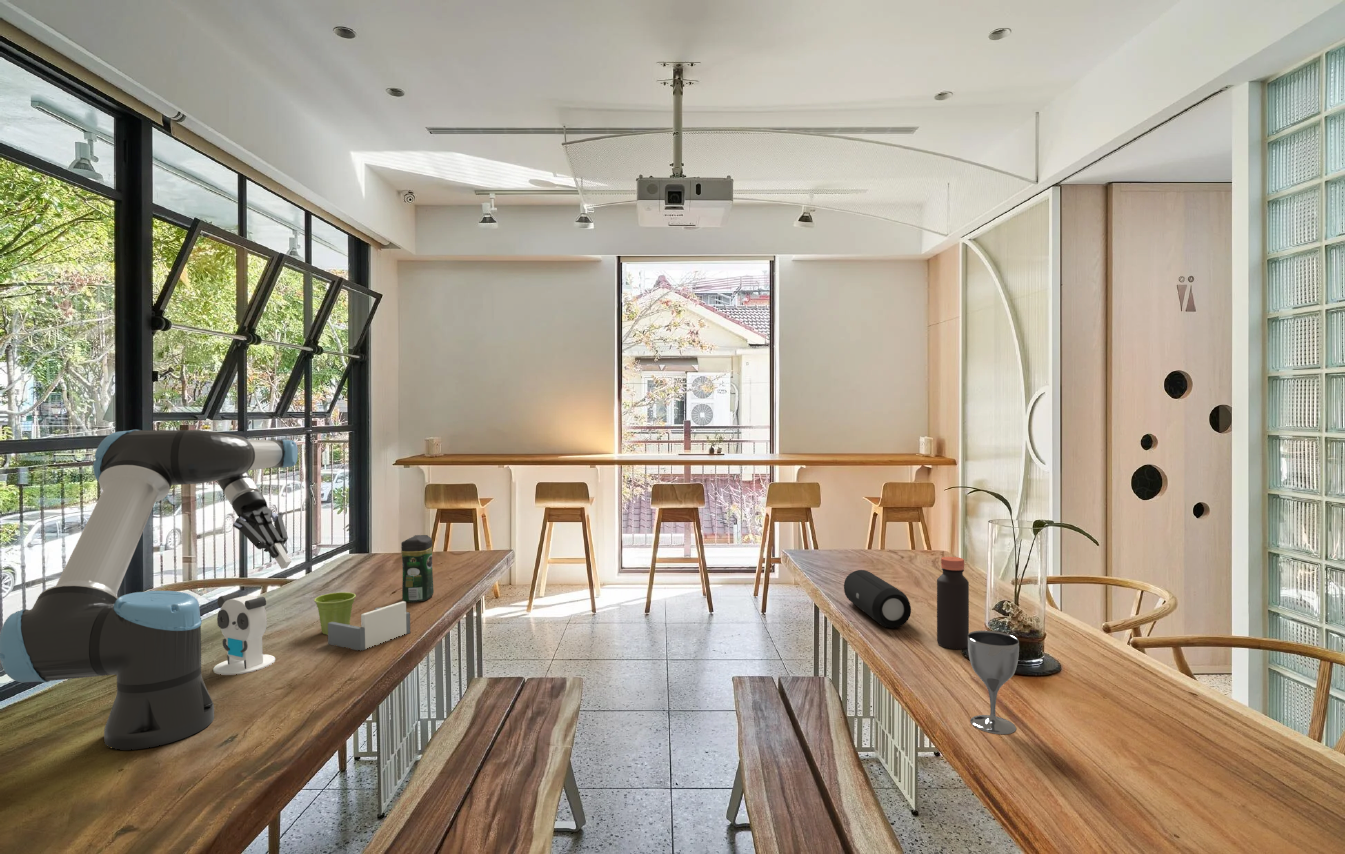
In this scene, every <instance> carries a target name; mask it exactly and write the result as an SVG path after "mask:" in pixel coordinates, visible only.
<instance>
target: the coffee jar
mask: <svg viewBox="0 0 1345 854" xmlns="http://www.w3.org/2000/svg"><path fill="white" fill-rule="evenodd" d="M400 544H401V546H400V548H401V549H400V550H401V551H400V552H401V560H402V564H401V565H402V566H401V567H402V590H401V591H402V594H401V597H402V601H404V602H407V603H417V602H424V601H427V600H428V599H430V598H432V596H433V595H434V575H433V573H434V572H433V539H432V537H430V536H429V535H428V534H417V535H416V534H415V535H413V536H412V537H409V538H407V539H405V540H403V541H402V542H401V543H400Z"/></svg>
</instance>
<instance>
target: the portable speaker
mask: <svg viewBox="0 0 1345 854" xmlns="http://www.w3.org/2000/svg"><path fill="white" fill-rule="evenodd" d="M843 591H844V595H845V597H846V598H847V600H848V601H850V602H851V603H852V604H853V605H855V606H856V607H857V608H858V609H859V610H861V611H863V612H864V613H865V614H866V615H868V616H869V617H870V618H872V620H874V621H876V622H877V623H878V624H879V625H880V626H883V627H884V628H887V627H889V629H891V628H892V629H893V628H898V627H899V628H900V627H901V626H903V625H905V624H906V623H907V622H908V621H909V619H910V617H911V615H912V614H911V613H912V606H911V602H910V601H909V598H908V596H907V595H906V594H905V593H904V592H903V591H901V590H900V589H898V588H897V587H895V586H893V585H892V584H890V583H888V582H887V581H885V580H883V579H882V578H880V577H879V576H877V575H875V574H874V573H872V572H870V571H868V570H865V569H857V570H855V571H852V572H850V573H849V574H848V575H847V576H846V577H845V580H844V583H843Z"/></svg>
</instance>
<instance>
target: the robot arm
mask: <svg viewBox="0 0 1345 854" xmlns="http://www.w3.org/2000/svg"><path fill="white" fill-rule="evenodd" d="M96 448H97V449H96V450H95V452H94V458H95V460H94V461H93V462H92V463H93V465H92V466H93V467H92V468H93V474H94V478H95V479H96V480H97V481H98V484H99V487H100V488H101V489H102V493H100V496H99V498H98V500H97V501H96V504H95V505H94V508H93V510H92V512H91V514H90V516H89V518H88V520H87V523H86V524H85V526H84V529H83V530H82V533H81V534H80V536H79V539H78V540H77V543H76V544H75V547H74V549H73V551H72V553H71V555H70V557H69V559H68V560H67V562H66V565H65V567H64V569H63V571H62V573H61V574H60V577H59V579H58V581H57V583H56V585H54V586H51V587H48V588H46V589H45V590H43V591H42V592H41V593H40V594H39V595H38V596H37V598H36V601H35V603H33V606H32V608H31V609H27V608H26V609H23V608H22V609H20V610H18V611H15V612H14V613H11V614H10V615H9V616H7V618H6V619H5V621H4V623H3V624H2V627H1V630H0V665H1V667H2V669H3V671H4V672H5V674H6V675H7V676H8V677H9V678H10V679H12V680H13V681H15V682H19V683H35V682H41V683H49V682H50V681H51V682H52V681H62V680H72V679H83V678H95V677H104V676H115V675H116V695H115V698H114V701H113V704H112V707H111V710H110V713H109V715H108V717H107V718H108V719H107V721H106V723H105V725H104V733H103V734H104V736H103V738H104V742H105V743H104V745H105V744H106V745H108V746H109V747H112V748H115V749H114V750H117V749H120V750H121V751H131V749H132V751H133V750H143V749H149V747H150V748H154V747H158V746H159V745H160V746H163V745H167V744H170V743H174V742H177V741H179V740H183V739H185V738H188V737H191V736H193V735H194V734H197V733H199V732H201V731H203V730H205V729H206V728H207V727H208V726H210V725H211V724H212V723H213V721H214V720H215V706H214V702H213V700H212V698H211V695H210V693H209V691H208V688H207V686H206V684H205V681H204V679H203V677H202V628H201V627H202V617H201V613H200V603H199V599H197V598H196V597H195V596H193V595H191V594H189V593H186V592H181V591H176V590H147V591H136V592H132V593H131V592H130V593H127V594H124V595H121V596H119V597H118V596H117V594H118V591H119V589H120V587H121V585H122V582H123V580H124V577H125V575H126V573H127V570H128V569H129V566H130V563H131V561H132V558H133V556H134V554H135V551H136V549H137V547H138V544H139V541H140V539H141V536H142V534H143V533H144V530H145V527H146V525H147V523H148V520H149V518H150V515H151V512H152V511H153V508H154V505H155V503H157V502H159V501H162V500H164V499H165V498H166V497H167V496H168V494H169V493H170V489H171V488H172V486H175V485H176V486H179V485H181V486H182V485H198V484H205V483H212V482H217V484H218V485H219V487H220V489H221V490H222V491H223V494H224V495H225V498H226V499H227V501H228V502H229V504H230V505H231V507H232V509H233V511H234V512H235V514H236V516H237V517H238V518H235V519H236V520H235V521H234V522H233V523H232V527H234V528H235V529H237V530H239V532H241V533H242V534H243V535H244V536H245V537H246V539H248V540H249V541H250V542H251V544H253V546H254V547H255V548H256V549H258V550H261V549H263V552H265V553H269V555H270V557H271V558H272V559H275V560H276V562H277V564H278V566H279V567H280V570H284V569H288V567H289V566H290V565H291V562H292V560H291V559H290V557H289V555H288V552H289V551H288V549H287V548H286V546H285V544H286V543H287V541H288V539H289V537H288V533H287V530H286V526H285V523H284V520H283V516H284V513H283V512H282V511H279V512H278V513H276V512H273V510H272V509H271V508H269V506H268V502H267V500H266V499H265V497H264V496H263V493H261V490H260V489H259V487H258V485H257V484H256V483H255V481H254V479H253V478H252V477H251V475H250V473H249V471H255V470H264V469H275V468H276V469H278V468H280V469H281V468H282V469H284V468H293V467H295V466H296V464H297V462H298V459H299V458H298V456H299V454H298V452H299V451H298V446H297V443H296V442H295V440H291V439H247V438H245V437H244V436H241V435H238V434H230V433H223V432H217V431H211V430H202V429H180V430H179V429H176V430H173V429H170V430H169V429H168V430H167V429H165V430H164V429H163V430H162V429H160V430H158V429H157V430H156V429H155V430H153V429H147V430H143V429H142V430H141V429H131V430H123V431H115V432H112V433H110V434H108V435H107V436H106V437H104V439H102V440H101V441H100V443H99V444H98V446H97V447H96ZM106 745H105V746H106ZM109 747H108V748H109ZM112 748H111V749H112Z"/></svg>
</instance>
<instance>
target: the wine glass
mask: <svg viewBox="0 0 1345 854" xmlns="http://www.w3.org/2000/svg"><path fill="white" fill-rule="evenodd" d="M967 651H968V657H969V658H968V659H969V662H970V665H971V668H972V670H973V671H974V673H975V674H976V675H977V676H978V677H979V679H980V680H981V681H982V682H983V684H984V686H986V689H987V691H988V697H989V705H990V706H989V707H990V711H989V712H990V714H989V715H988V714H979V715H975V716H973V717H971V718H970V724H971V725H972V726H973V727H975V728H976V729H978V730H980V731H982V732H986V733H989V734H993V735H1011V734H1014V732H1016V730H1017V727H1016V725H1015V724H1014V723H1013V722H1011V721H1010V720H1008V719H1006V718H1004V717H1000V716H996V707H997V706H996V705H997V697H998V692H999V691H1000V689H1001V688H1002V686H1003V685H1005V683H1007V682H1008V681H1009V680H1010V679H1011V678H1012V677H1013V676H1014V675H1015V673H1016V670H1017V666H1018V662H1019V658H1020V653H1019V652H1020V641H1019V638H1017V637H1015V636H1014V635H1011V634H1008V633H1005V632H1001V631H996V630H995V631H994V630H975V631H974V630H973V631H969V634H968V647H967Z"/></svg>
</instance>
